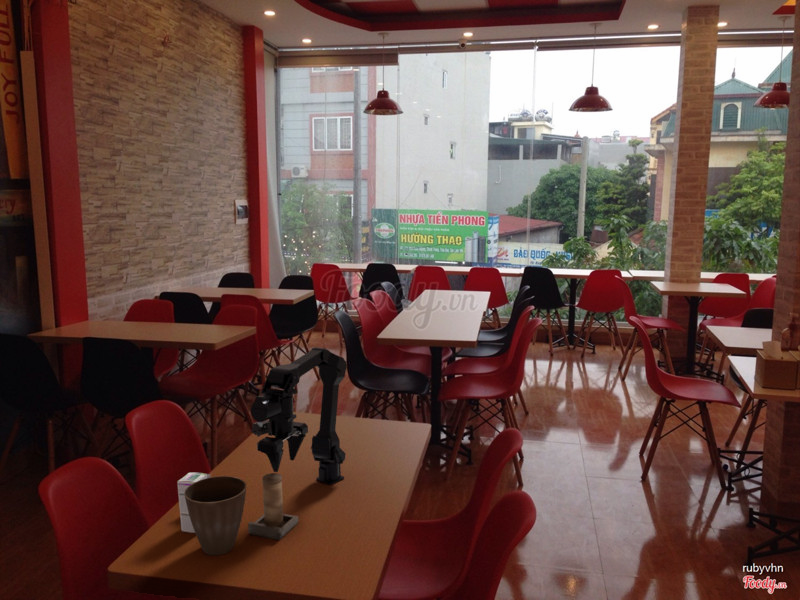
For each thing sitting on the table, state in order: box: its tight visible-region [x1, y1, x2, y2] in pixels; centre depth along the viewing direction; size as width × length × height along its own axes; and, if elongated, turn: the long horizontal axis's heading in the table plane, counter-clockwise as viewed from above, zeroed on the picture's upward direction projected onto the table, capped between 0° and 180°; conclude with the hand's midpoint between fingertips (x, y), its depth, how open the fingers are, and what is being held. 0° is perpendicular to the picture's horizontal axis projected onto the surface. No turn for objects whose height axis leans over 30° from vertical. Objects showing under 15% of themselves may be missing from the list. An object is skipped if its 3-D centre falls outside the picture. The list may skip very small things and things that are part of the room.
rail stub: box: [261, 472, 284, 528], centre depth 167 cm, size 5×5×14 cm
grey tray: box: [247, 513, 299, 541], centre depth 168 cm, size 10×10×3 cm
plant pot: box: [184, 475, 247, 556], centre depth 158 cm, size 15×15×16 cm
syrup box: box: [177, 472, 208, 534], centre depth 168 cm, size 6×6×14 cm
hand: (284, 465), depth 177 cm, fingers open, 9 cm apart
